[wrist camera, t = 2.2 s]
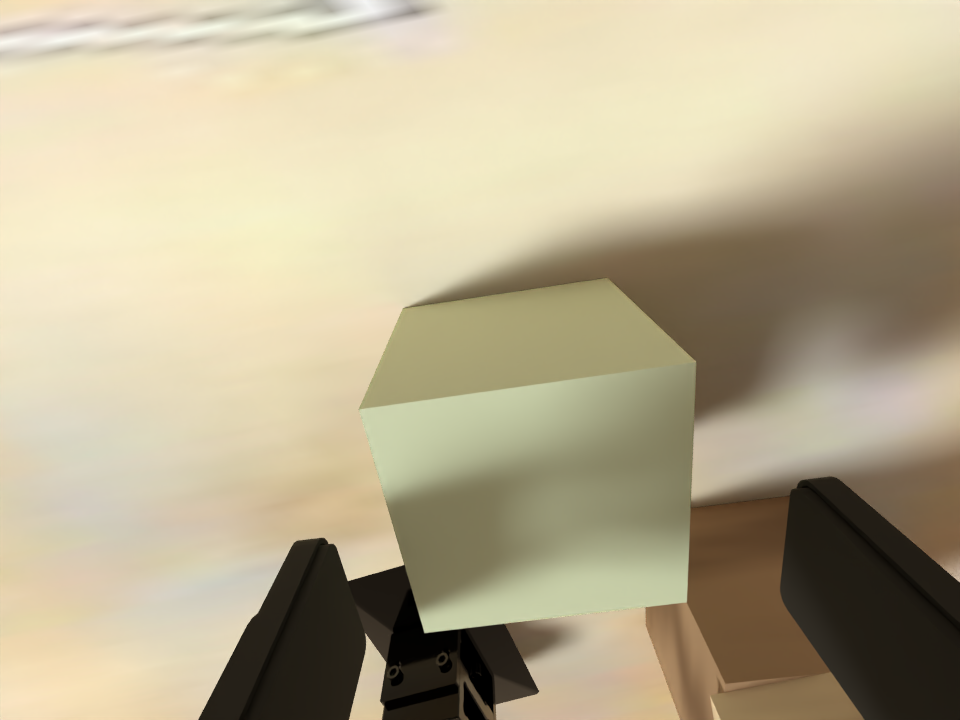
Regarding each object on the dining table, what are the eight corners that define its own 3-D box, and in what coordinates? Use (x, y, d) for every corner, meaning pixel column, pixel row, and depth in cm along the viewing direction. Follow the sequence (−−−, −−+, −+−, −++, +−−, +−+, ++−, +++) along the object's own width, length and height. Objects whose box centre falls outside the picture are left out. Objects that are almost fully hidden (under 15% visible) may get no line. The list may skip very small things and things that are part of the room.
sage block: (403, 307, 14) (358, 409, 8) (606, 277, 14) (695, 361, 8) (440, 471, 16) (424, 632, 11) (613, 448, 16) (686, 602, 11)
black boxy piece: (564, 696, 22) (585, 821, 18) (422, 731, 23) (411, 858, 19) (470, 502, 18) (470, 611, 13) (296, 556, 19) (245, 674, 14)
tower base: (644, 513, 17) (725, 683, 12) (812, 492, 17) (976, 656, 11) (645, 625, 20) (713, 809, 14) (792, 607, 19) (920, 789, 14)
